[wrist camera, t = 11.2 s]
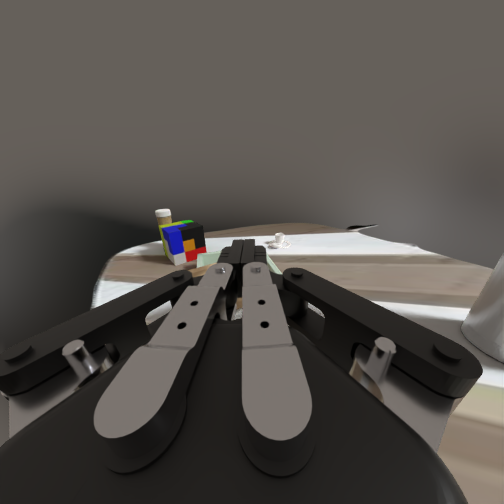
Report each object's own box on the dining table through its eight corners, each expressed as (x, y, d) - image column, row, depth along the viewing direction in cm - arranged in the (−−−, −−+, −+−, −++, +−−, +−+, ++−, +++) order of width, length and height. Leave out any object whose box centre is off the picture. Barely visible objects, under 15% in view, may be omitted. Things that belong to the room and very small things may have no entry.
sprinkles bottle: (165, 245, 69) (157, 209, 64) (178, 244, 70) (171, 208, 64) (162, 250, 65) (152, 211, 59) (176, 249, 66) (167, 210, 60)
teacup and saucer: (276, 252, 62) (276, 240, 60) (262, 244, 68) (262, 234, 66) (295, 246, 66) (296, 235, 64) (280, 239, 72) (281, 229, 71)
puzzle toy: (175, 265, 54) (168, 233, 50) (165, 255, 61) (158, 225, 57) (206, 255, 60) (202, 225, 56) (194, 247, 67) (189, 219, 63)
